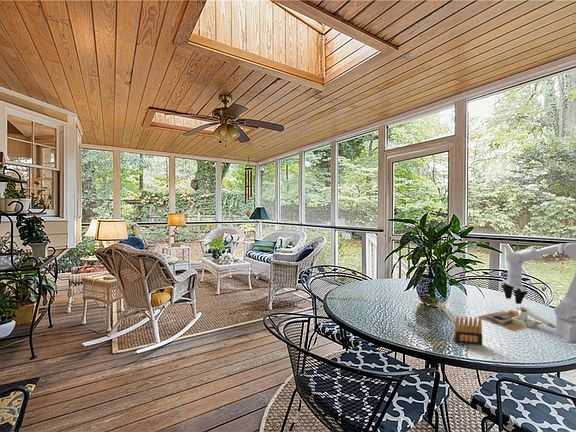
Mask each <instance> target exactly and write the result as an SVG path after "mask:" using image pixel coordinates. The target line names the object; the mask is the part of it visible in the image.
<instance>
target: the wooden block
mask: <svg viewBox="0 0 576 432" xmlns="http://www.w3.org/2000/svg"><path fill="white" fill-rule="evenodd" d="M507 312H508V315H504V316H500V319H502V320H505V318H509V317H513V316H515V317H517V316H518V310H513V309H511V310H507Z"/></svg>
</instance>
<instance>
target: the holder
mask: <svg viewBox="0 0 576 432" xmlns="http://www.w3.org/2000/svg"><path fill="white" fill-rule="evenodd" d="M504 315H508V311H506V310H501V311H500V310H499V311H497V312H496V311H495V312H493V313H492V312H491V313H488V314H483V315H478V316H476V319H479V317H480V318H481V321H485V322H488V323H490V324H492V325H496V326H498V327H502V328H503V329H507V330H509V331H512V332H514V333H515V332H518V331H522V330H526V329H530V328H532V327H537V326H540V325H544V323H542V322H540V321H538V320H537V321H536V320H534V321H535V325H534V326H530V327H524V326H521V325H518V324H515V323H513V320H512V319H511V318H513V317H515V316H513V317H509V318H505V320H502V319H500V316H504Z"/></svg>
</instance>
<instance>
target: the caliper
mask: <svg viewBox="0 0 576 432" xmlns="http://www.w3.org/2000/svg"><path fill="white" fill-rule="evenodd" d="M437 309H438V310H439V311H440V310H441V311H442V312H443V313H445V315H446V316H447V318H448V319H449V320H450V322H451V323H453V325H455V323H456V319H454V318H453V316H452V315H451V313H450V311H448V310H447V308H446V306H445V305H444V304H443V301H442V299H439V300H438V304H437Z"/></svg>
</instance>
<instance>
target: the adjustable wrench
mask: <svg viewBox="0 0 576 432" xmlns="http://www.w3.org/2000/svg"><path fill="white" fill-rule="evenodd" d="M521 308H522V309H526V311H528V316H530V317H531V318H533V319H535V320H537V321H538V320H539V321H538V322H540V321H541V322H540V323H543V325H545V324H546V326H547V327H549V326H550V327H549V328H555V324H554V323H552V322H551V321H549V320H546V319H544V318H543V317H541V316H539V315H538V314H536V313H533V312H532V311H530V308H529V307H525V306H520V307H518V306H516V307H515V309H516V310H517V311H518V310H520V309H521Z"/></svg>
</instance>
